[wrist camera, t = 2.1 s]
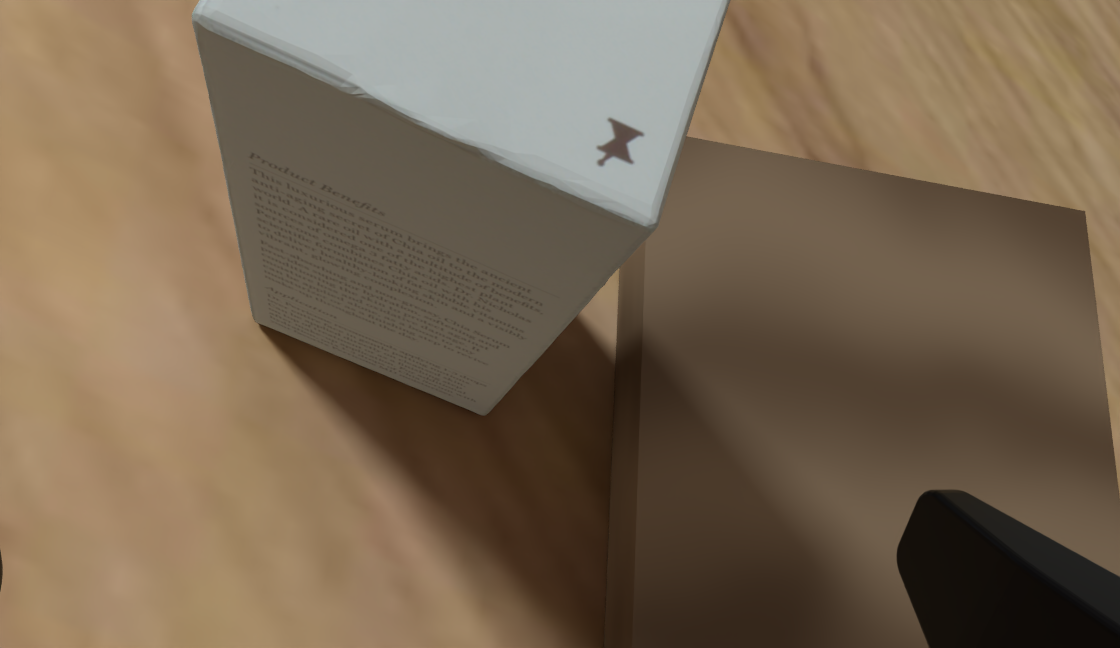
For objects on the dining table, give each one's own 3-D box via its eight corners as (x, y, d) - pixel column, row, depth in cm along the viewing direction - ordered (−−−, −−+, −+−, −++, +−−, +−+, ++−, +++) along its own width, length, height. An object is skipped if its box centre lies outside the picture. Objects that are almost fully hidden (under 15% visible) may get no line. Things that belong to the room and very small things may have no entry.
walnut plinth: (1080, 699, 24) (1144, 707, 22) (602, 676, 21) (631, 684, 19) (1033, 236, 28) (1084, 211, 26) (624, 164, 25) (649, 129, 23)
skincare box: (544, 268, 24) (755, -23, 13) (485, 421, 22) (665, 243, 11) (319, 169, 23) (334, -234, 12) (242, 321, 21) (175, 21, 10)
